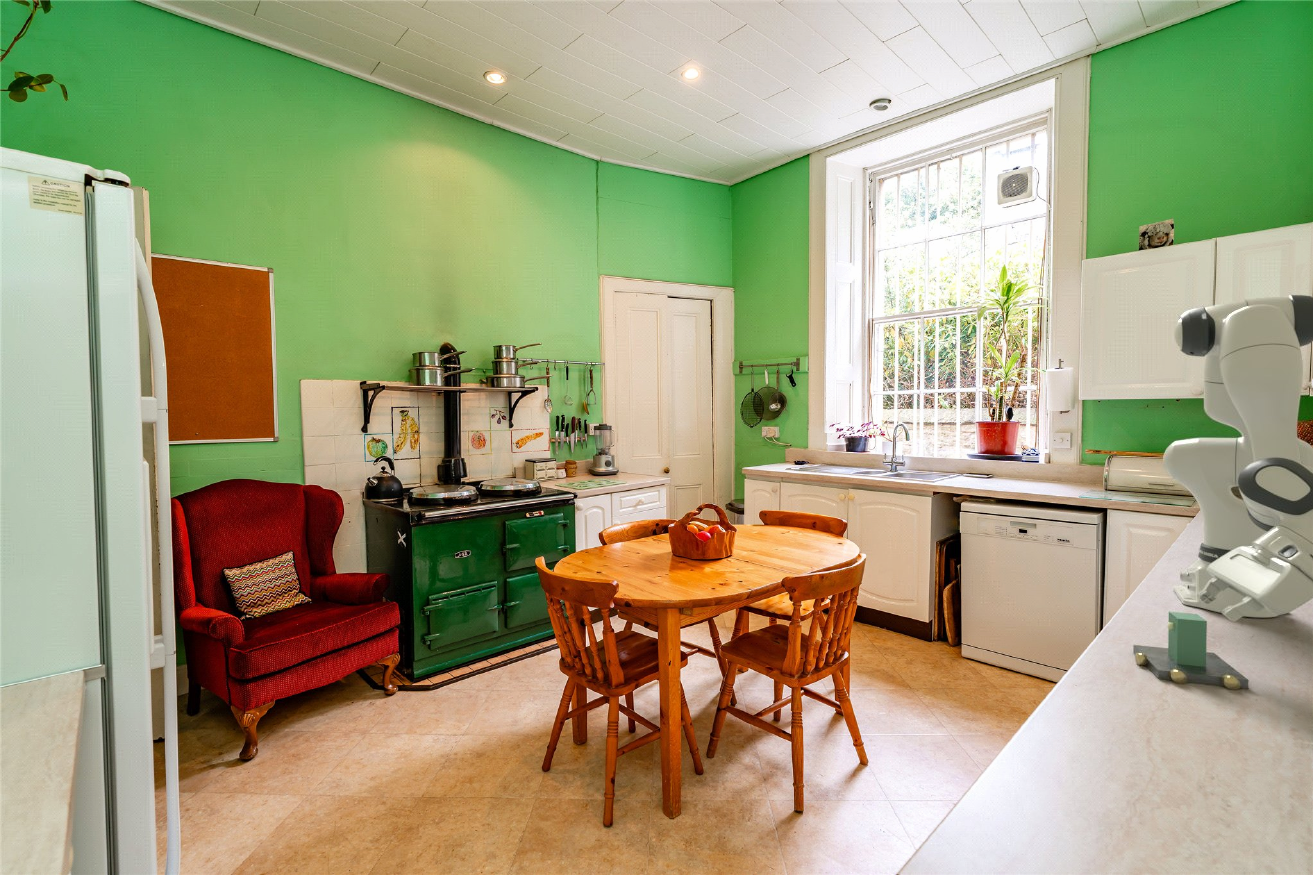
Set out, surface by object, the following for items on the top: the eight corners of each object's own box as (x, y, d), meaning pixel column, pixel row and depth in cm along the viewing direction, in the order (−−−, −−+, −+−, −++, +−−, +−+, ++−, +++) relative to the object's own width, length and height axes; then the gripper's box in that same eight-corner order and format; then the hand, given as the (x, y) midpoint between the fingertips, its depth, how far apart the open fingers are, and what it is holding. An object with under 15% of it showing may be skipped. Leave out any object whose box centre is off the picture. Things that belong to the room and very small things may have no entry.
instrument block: (1164, 654, 111) (1164, 611, 111) (1196, 658, 109) (1196, 613, 109) (1172, 663, 107) (1173, 618, 107) (1206, 666, 106) (1206, 621, 105)
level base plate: (1125, 651, 116) (1125, 641, 116) (1213, 660, 112) (1213, 649, 111) (1152, 680, 104) (1152, 668, 104) (1252, 692, 99) (1252, 679, 99)
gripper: (1239, 530, 113) (1173, 578, 117) (1307, 556, 94) (1225, 612, 98) (1270, 555, 111) (1202, 603, 116) (1346, 587, 93) (1261, 643, 97)
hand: (1213, 608), depth 107 cm, fingers open, 8 cm apart
